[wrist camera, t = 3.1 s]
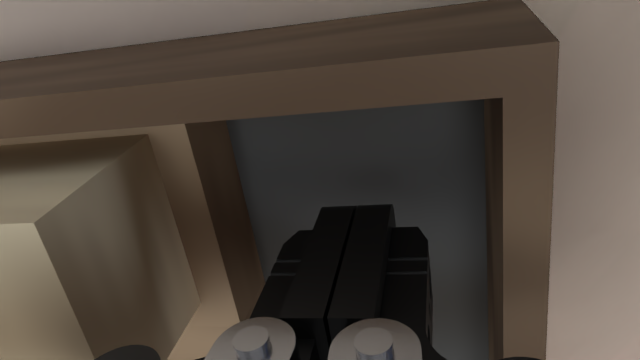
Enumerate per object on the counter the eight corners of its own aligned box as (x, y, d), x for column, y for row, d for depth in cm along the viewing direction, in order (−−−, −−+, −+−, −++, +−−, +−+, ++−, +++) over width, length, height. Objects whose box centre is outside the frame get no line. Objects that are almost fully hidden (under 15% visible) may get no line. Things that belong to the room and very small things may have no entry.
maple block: (-25, 147, 14) (-185, 230, 10) (147, 133, 12) (33, 223, 9) (47, 301, 16) (-65, 414, 12) (200, 302, 14) (125, 428, 11)
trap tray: (-201, 86, 17) (-391, 140, 13) (518, -4, 12) (559, 41, 8) (-8, 411, 23) (-97, 512, 20) (513, 448, 18) (535, 597, 14)
